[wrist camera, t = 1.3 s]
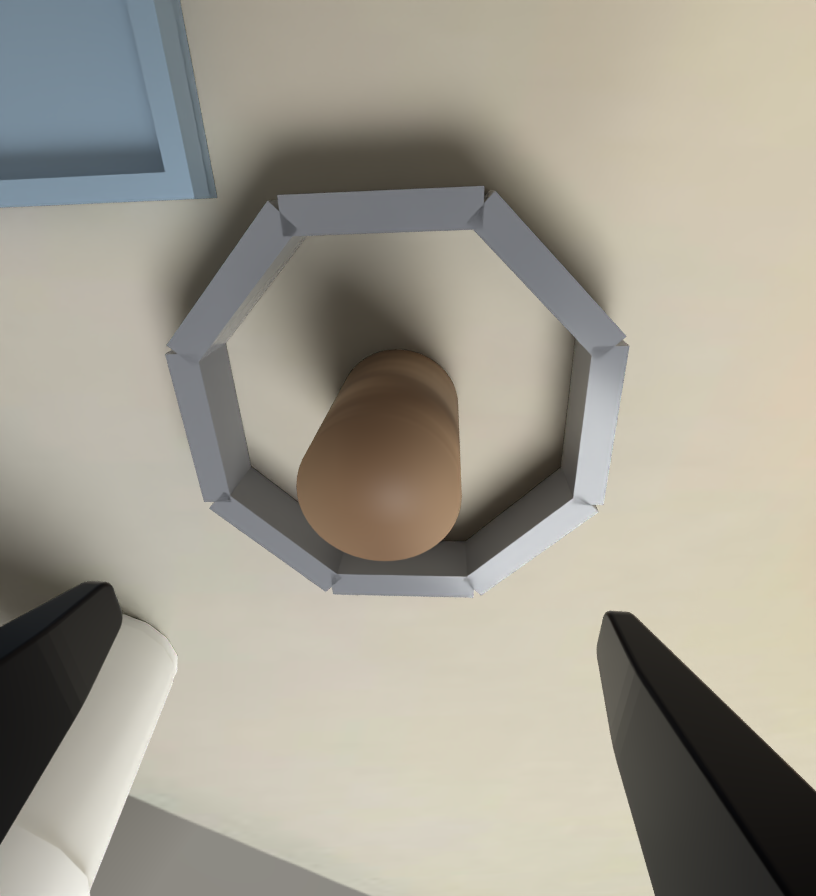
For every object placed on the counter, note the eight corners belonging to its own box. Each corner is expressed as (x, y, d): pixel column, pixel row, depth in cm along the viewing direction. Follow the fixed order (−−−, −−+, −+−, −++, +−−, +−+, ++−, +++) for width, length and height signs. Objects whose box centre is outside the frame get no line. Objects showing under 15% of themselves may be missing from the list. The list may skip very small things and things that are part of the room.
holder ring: (246, 557, 26) (227, 591, 24) (164, 200, 18) (124, 201, 16) (575, 563, 24) (587, 600, 22) (629, 179, 17) (656, 178, 15)
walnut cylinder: (346, 458, 23) (307, 560, 17) (334, 350, 20) (284, 420, 14) (457, 458, 22) (461, 562, 16) (458, 348, 20) (462, 419, 14)
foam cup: (38, 575, 27) (-260, 853, 16) (205, 612, 28) (32, 911, 16) (55, 686, 32) (-169, 969, 20) (200, 717, 32) (60, 1012, 21)
